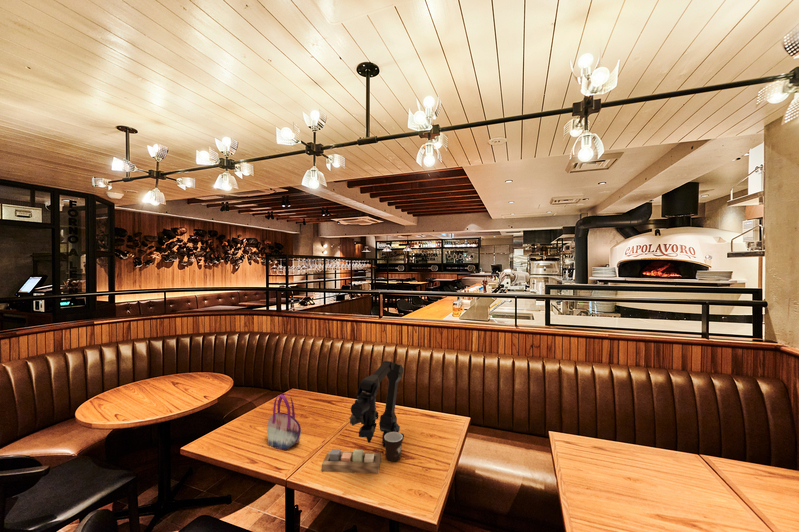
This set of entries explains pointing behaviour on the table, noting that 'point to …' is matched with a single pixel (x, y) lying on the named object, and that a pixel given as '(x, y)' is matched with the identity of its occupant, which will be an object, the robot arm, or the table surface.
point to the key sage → (358, 456)
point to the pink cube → (346, 457)
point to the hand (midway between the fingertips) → (369, 442)
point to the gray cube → (335, 455)
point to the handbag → (283, 426)
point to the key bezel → (352, 464)
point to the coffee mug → (393, 446)
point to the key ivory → (369, 458)
